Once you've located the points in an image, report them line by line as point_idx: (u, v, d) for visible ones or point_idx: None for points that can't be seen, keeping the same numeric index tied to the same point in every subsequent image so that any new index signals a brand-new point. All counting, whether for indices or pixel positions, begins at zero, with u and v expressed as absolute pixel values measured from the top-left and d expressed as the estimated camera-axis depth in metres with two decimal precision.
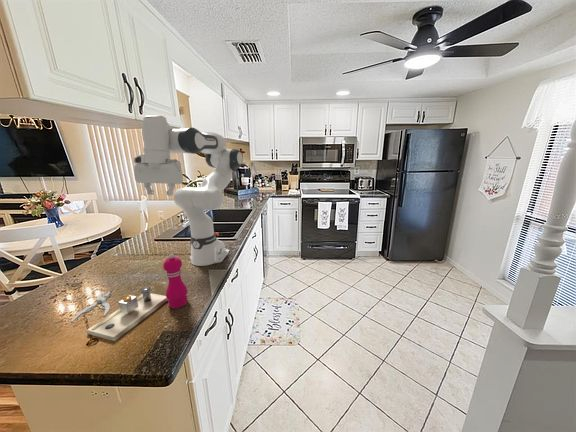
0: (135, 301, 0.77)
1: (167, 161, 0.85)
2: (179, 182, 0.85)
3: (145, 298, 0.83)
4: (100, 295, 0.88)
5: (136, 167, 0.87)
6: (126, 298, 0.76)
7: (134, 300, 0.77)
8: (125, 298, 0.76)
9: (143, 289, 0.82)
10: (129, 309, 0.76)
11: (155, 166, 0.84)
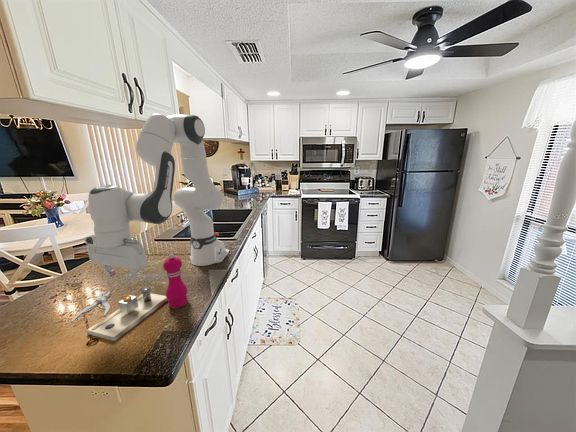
0: (135, 301, 0.77)
1: (125, 242, 0.69)
2: (142, 266, 0.70)
3: (145, 298, 0.83)
4: (100, 295, 0.88)
5: (89, 247, 0.71)
6: (126, 298, 0.76)
7: (134, 300, 0.77)
8: (125, 298, 0.76)
9: (143, 289, 0.82)
10: (129, 309, 0.76)
11: (110, 249, 0.68)
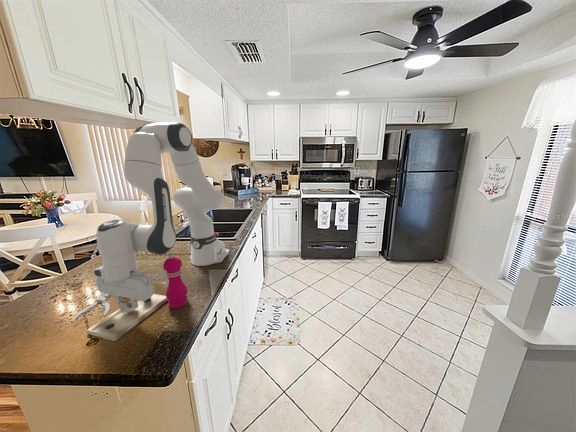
0: None
1: (132, 274, 0.72)
2: (148, 297, 0.73)
3: None
4: (100, 295, 0.88)
5: (97, 278, 0.74)
6: (126, 298, 0.76)
7: None
8: (125, 298, 0.76)
9: None
10: (129, 309, 0.76)
11: (118, 282, 0.71)
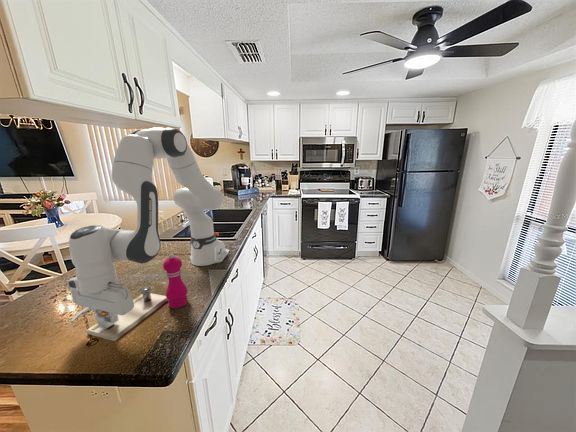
0: None
1: (110, 286, 0.65)
2: (128, 311, 0.66)
3: (145, 298, 0.83)
4: None
5: (72, 290, 0.68)
6: (104, 311, 0.69)
7: None
8: (103, 311, 0.69)
9: (143, 289, 0.82)
10: (108, 324, 0.69)
11: (94, 294, 0.65)
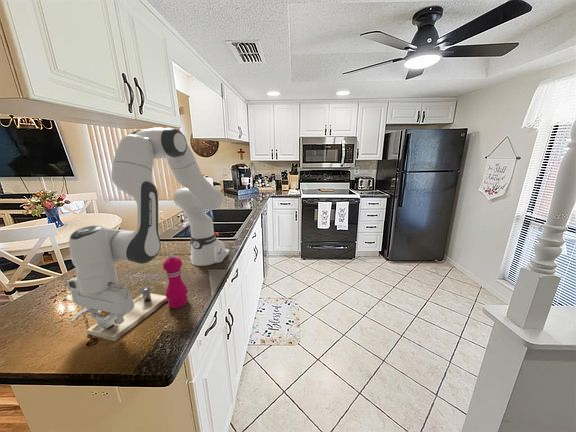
0: None
1: (110, 286, 0.65)
2: (128, 311, 0.66)
3: (145, 298, 0.83)
4: None
5: (73, 290, 0.68)
6: (104, 311, 0.69)
7: None
8: (103, 311, 0.69)
9: (143, 289, 0.82)
10: (108, 324, 0.69)
11: (94, 294, 0.65)
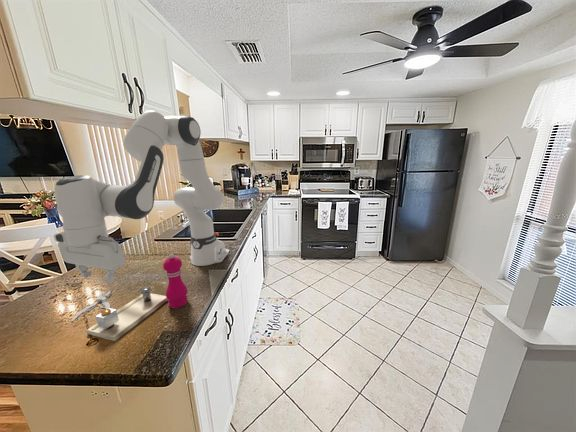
0: (115, 314, 0.71)
1: (99, 239, 0.62)
2: (119, 267, 0.63)
3: (145, 298, 0.83)
4: (100, 294, 0.88)
5: (60, 245, 0.64)
6: (104, 311, 0.69)
7: (114, 313, 0.70)
8: (103, 311, 0.69)
9: (143, 289, 0.82)
10: (108, 324, 0.69)
11: (83, 248, 0.61)
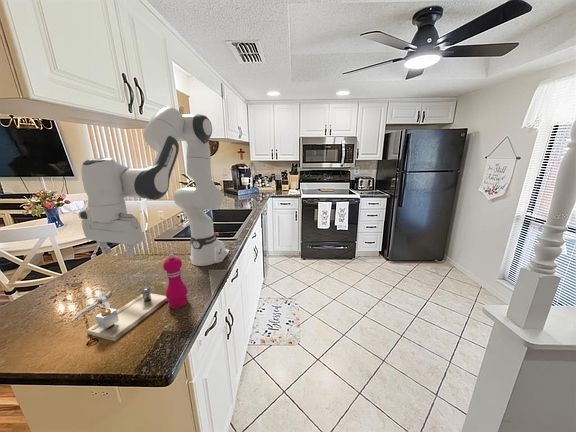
0: (115, 314, 0.71)
1: (120, 216, 0.67)
2: (138, 242, 0.68)
3: (145, 298, 0.83)
4: (101, 294, 0.88)
5: (84, 223, 0.69)
6: (104, 311, 0.69)
7: (114, 313, 0.70)
8: (103, 311, 0.69)
9: (143, 289, 0.82)
10: (108, 324, 0.69)
11: (105, 224, 0.66)
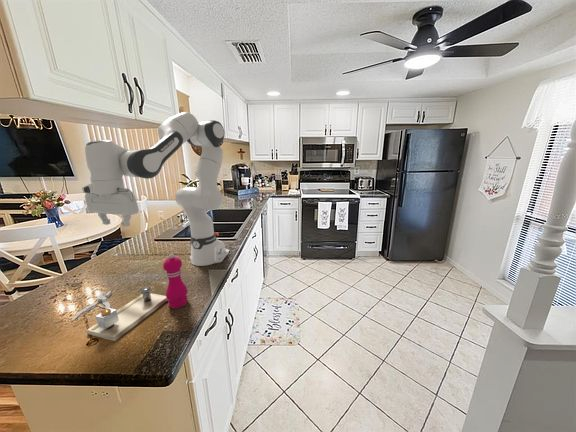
0: (115, 314, 0.71)
1: (118, 190, 0.78)
2: (134, 213, 0.79)
3: (145, 298, 0.83)
4: (101, 294, 0.88)
5: (87, 197, 0.80)
6: (104, 311, 0.69)
7: (114, 313, 0.70)
8: (103, 311, 0.69)
9: (143, 289, 0.82)
10: (108, 324, 0.69)
11: (105, 197, 0.77)
